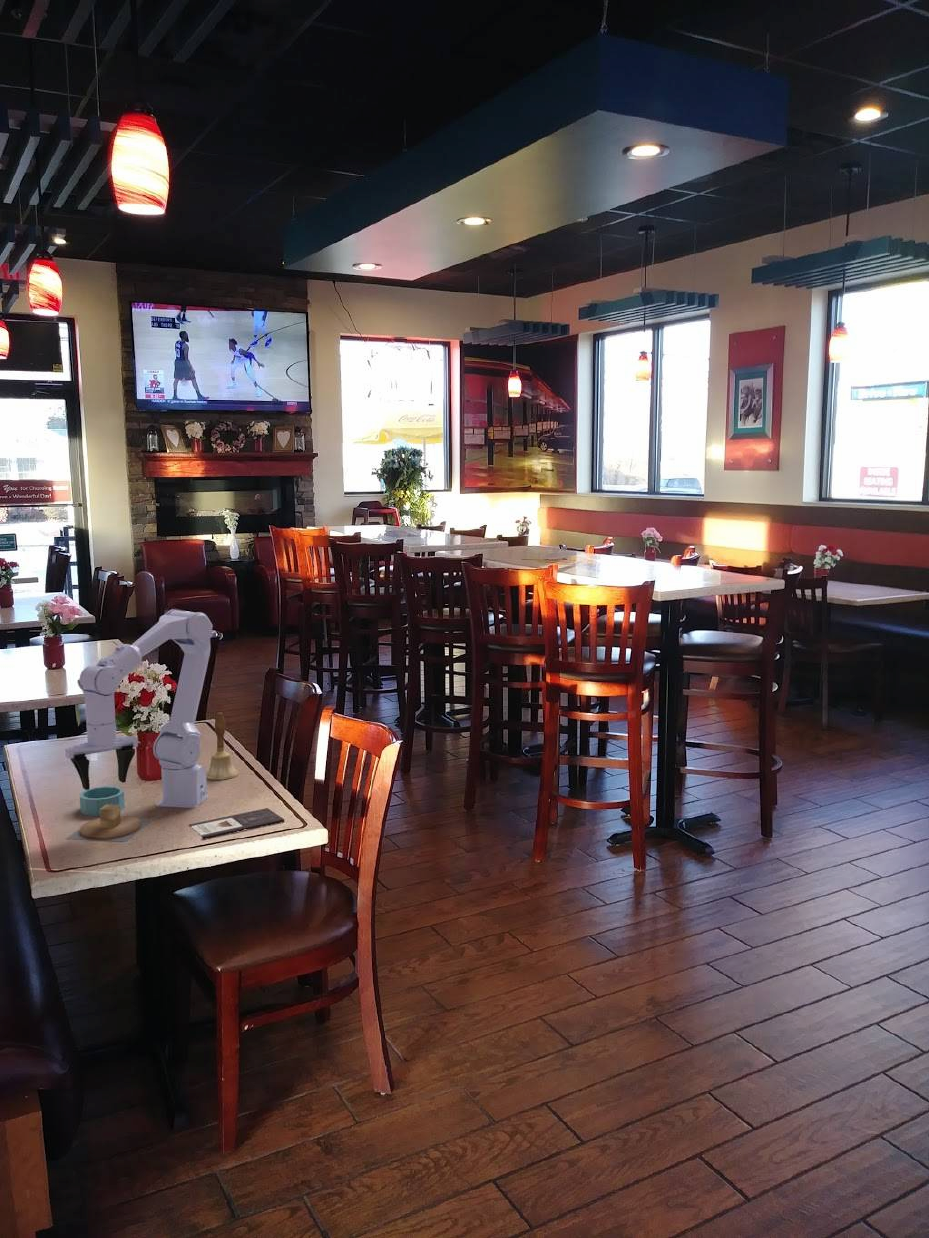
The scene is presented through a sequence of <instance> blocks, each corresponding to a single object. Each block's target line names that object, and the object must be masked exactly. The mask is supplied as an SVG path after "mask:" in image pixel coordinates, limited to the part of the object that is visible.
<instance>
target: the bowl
mask: <svg viewBox="0 0 929 1238" xmlns="http://www.w3.org/2000/svg"><path fill="white" fill-rule="evenodd" d="M124 791H125V790H124V788H122V787H120V786H114V785H113V786H109V785H108V786H107V785H106V786H105V785H104V786H97V787H91V788H89V790H85V789H84V790H83V791H81V792H80V793H79V810H80V814H82V815H85V816H89V817H90V816H94V817H100V809H101V808H102V807H103V806H105V805H106V804H108V805H120V812H121V811H122V810H124V809H125V792H124Z"/></svg>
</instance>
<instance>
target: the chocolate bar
mask: <svg viewBox="0 0 929 1238" xmlns="http://www.w3.org/2000/svg"><path fill="white" fill-rule="evenodd" d="M281 822H282V823H285V818H283V817H282V816H280V815H278V814H277V813H275V811H272V810H271V809H269V808H268V807H266V808H262V809H261V808H260V809H256V810H252V811H247V812H242V813H237V814H232V815H228V816H224V817H223V816H222V817H219V818H213V819H209V820H204V821H199V822H194V823H190V824H188V826H189V827H190V828H192V829H193V830H194V831H195V832H196V833H197V834H198V835H200V836H201V838H202V839H203V840H207V839H206V838H209V839H213V838H217V837H216V836H218V837H222V836H227V835H230V834H229V833H231V834H235V833H234V832H236V833H238V832H237V831H241V832H243V831H242V830H244V829H250V830H254V829H258V828H262V827H261V826H263V827H267V826H266V825H268V826H272V825H271V824H273V825H276V824H275V823H277V824H281ZM226 834H227V835H226ZM221 835H222V836H221ZM212 837H213V838H212Z"/></svg>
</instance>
